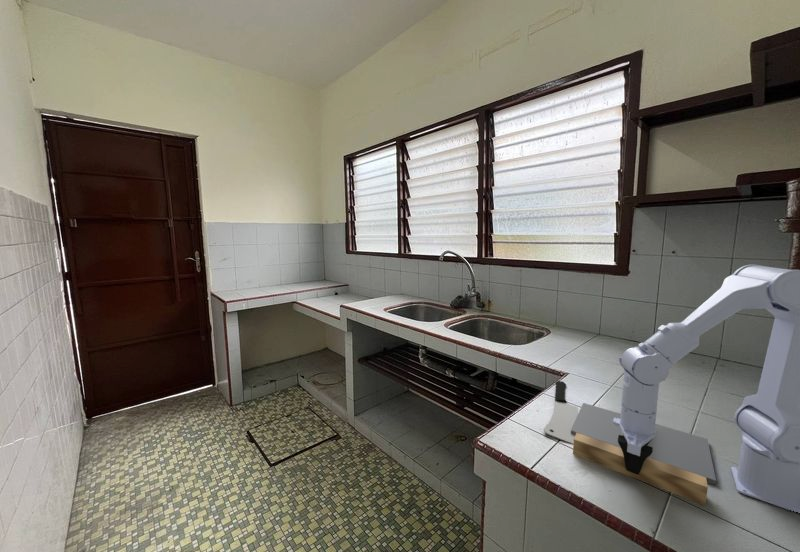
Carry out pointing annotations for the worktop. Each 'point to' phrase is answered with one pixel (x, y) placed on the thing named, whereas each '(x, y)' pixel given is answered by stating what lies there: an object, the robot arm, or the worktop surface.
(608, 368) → the worktop surface
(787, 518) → the worktop surface
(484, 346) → the worktop surface
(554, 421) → the kitchen cleaver
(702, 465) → the ridge stand
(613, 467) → the oak beam
